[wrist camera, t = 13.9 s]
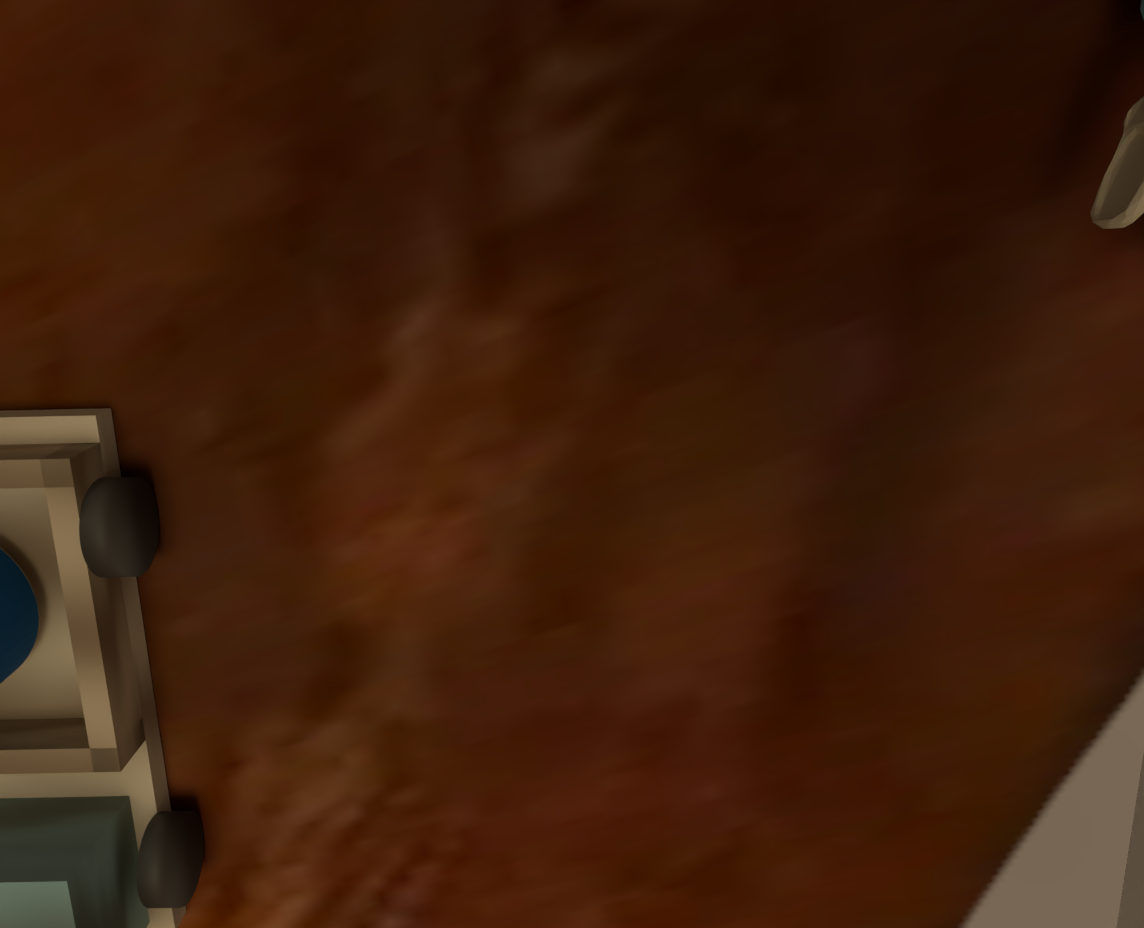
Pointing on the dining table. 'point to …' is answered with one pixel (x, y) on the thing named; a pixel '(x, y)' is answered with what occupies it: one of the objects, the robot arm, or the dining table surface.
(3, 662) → the beverage can
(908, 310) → the dining table surface
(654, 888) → the dining table surface
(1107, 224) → the toy figure
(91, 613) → the toy truck
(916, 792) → the dining table surface
